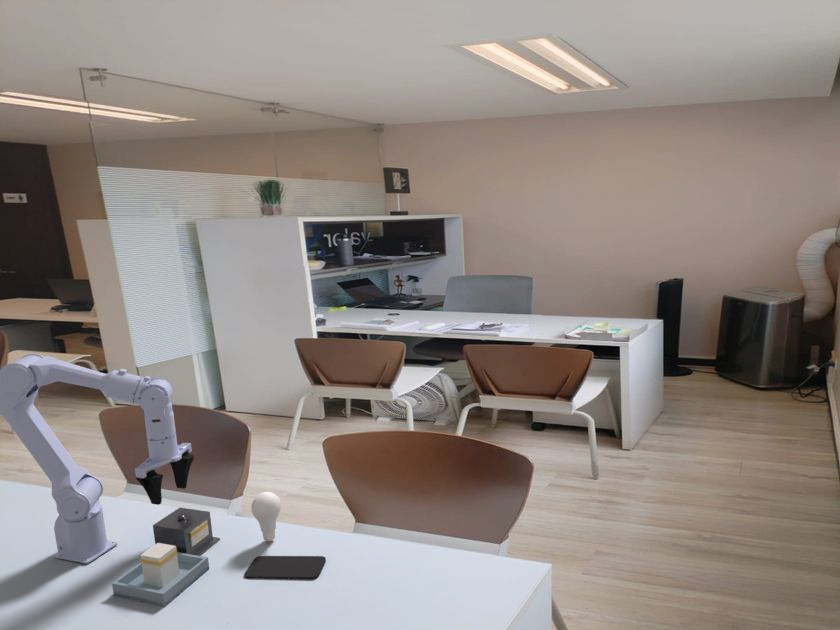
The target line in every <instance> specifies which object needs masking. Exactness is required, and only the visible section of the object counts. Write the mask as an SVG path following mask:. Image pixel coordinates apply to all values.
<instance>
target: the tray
mask: <svg viewBox="0 0 840 630" xmlns="http://www.w3.org/2000/svg"><path fill="white" fill-rule="evenodd" d="M177 558H178V565H179V573H180V574H179V575H178V576H177V577H175V578H174V579H173V580H172V581H170V582H169V583H168V584H167V585H166V586H164V587H158V586H153V585H148V584H144V578H143V571H142V564H141V562H139V563H138V564H136V565H135V566H134V567H133V568H131V569H130V570H128V571H127V572H126V573H124V574H123V575H121V576H120V577H119V578H118V579H116V580H114V581H113V582H111V587H112V592H113V593H112V594H113V596H114V597H119V598H124V599H128V600H133V601H137V602H144V603H148V604H152V605H157V606H162V607H166V606H168V605H169V604H170V603H171V602H172V601H174V600H175V599H177V597H178V596H180V595H181V594H182V593H183V592H184V591H185V590H186V589H188V588H189V587H190V586H191V585H192V584H194V583H195V582H196V581H197V580H198V579H200V578H201V577H202V576H203V575H204V574H205V573H207V572H208V571H209V570H210V563H209V557H206V556H202V555H201V556H197V555H191V554H185V553H180V552H177Z"/></svg>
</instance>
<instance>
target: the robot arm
mask: <svg viewBox="0 0 840 630" xmlns="http://www.w3.org/2000/svg"><path fill="white" fill-rule="evenodd" d="M127 372H128V370H127V369H124V368H120V369H119V370H117V369H116V370H115V369H114V370H112V371H110V372H108V373H103V372H100V371H98V370H94V369H92V368H91V369H90V368H88V367H84V366H82V365H77V364H75V363H71V362H67V361H65V360H61V359H58V358H56V357H53V356H51V355H50V356H49V355H42V354H40V353H28V354H26V355H23V356H22V357H21V358H19V359H17V360H14V361H13V362H11V363H8V364H5V365H4V366H3V367H2V368H1V369H0V413H1V415H2V417H4V419H5V421H6V422H7V423H8V425H9V426H10V427H11V429H12V430H13V431H14V433H15V435H16V436H17V437H18V438H19V440H20V441H21V442H22V444H23V445H24V446H25V448H26V449H27V450H28V452H29V453H30V455H31V456H32V457H33V459H34V460H35V461H36V463H37V464H38V465H39V467H40V468H41V469H42V471H43V472H44V474H45V475H46V477H48V479H49V480H50V482H51V497H52V499H53V500H54V502H55V504H56V511H57V513H58V516H57V518H56V519H55V522H54V526H53V527H54V528H53V529H54V530H53V531H54V537H55V542H56V547H57V550H56V551H57V553H55V554H54V558H55V559H61V560H65V561H71V562H75V563H81V564H84V565H85V564H90V563H91V562H92V561H94V560H96V559H98V558H99V557H100V556H102V555H103V554H105V553H106V552H108V551H109V550H112V549H113V548H114V547H116V546H117V545H118V542H117V541H112V540H108V539H107V533H106V532H107V531H106V525H105V519H104V513H103V512H104V511H103V506H102V503H101V502H100V498H101V496H102V494H103V493H104V485H103V481H102V480H100V478H98V477H97V476H95V475H93V474H91V473H90V472H89V470H88V469H87V468H86V467H84V466H81V465H77V463H76V462H75V461H74V458H72V456H71V455H70V454H69V453H68V451H67V449H66V448H65V447H64V445H63V444H62V442H61V441H60V440H59V438H58V437H57V436H56V433H54V431H53V430H52V428H51V427H50V426H49V424H48V423H47V422H46V420H45V419H44V417H43V416H42V414H40V411H39V410H38V409H37V407H36V406H35V404H34V403H35V400H36V397H37V395H38V393H39V392H38V391H39V389H40V388H41V387H44V386H47V385H50V384H53V383H57V382H60V383H64V384H65V383H66V384H70V385H76V386H80V387H86V388H91V389H96V390H100V392H101V393H102V394H103V396H104V397H106V398H108V399H109V398H110V399H113V400H118V401H122V402H125V403H129V404H134V405H139V407H140V408H141V409H142V410H143V412H144V424H145V432H146V440H147V447H148V455H149V457H147V458H146V459H145V460H144V461H143V462H142V463H141V464H140V465H138V466H136V467H135V468H134V474H135V479H136V481H137V482H139V484H140V485H141V487H143V490H144V491H145V492H146V494H147V496H148V498H149V501H150V503H151V505H157V506H159V505H162V499H163V498H162V497H163V496H162V482H163V477H164V474H163V473H158V472H157V470H158V469H159V468H162V467H163V466H165V465H167V464H170V466H171V468H172V472H173V476H174V477H173V478H174V482H175V486H176V488H177V489H183V490H185V489H186V488H187V485H188V479H189V478H188V477H189V473H190V470H191V466H192V463H193V461H194V460H195V457H194V455H195V454H193V453H192V452H193V449H192V443H191V442H182V443H181V444H178V439H177V430H176V424H175V415H174V414H175V413H174V411H173V410H174V409H173V404H172V400H171V399H172V397H173V395H174V388H173V385H172V383H171V382H170V381H168V380H167V379H165V378H163V377H160V376H158V377H157V376H155V377H154V378H153V377H151V376H148V375H145V377H144V376H140V375H136V374H132V373H127Z"/></svg>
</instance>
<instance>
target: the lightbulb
mask: <svg viewBox="0 0 840 630" xmlns="http://www.w3.org/2000/svg"><path fill="white" fill-rule="evenodd" d="M281 508H282V503H281V499H280V498H279V496H278V495H277V494H276V493H273V492H271V491H263V492H261V493H260V492H259V494H257V495H256V496H255V497H254V498H253V499H252V502H251V512H252V515H253V517H254V518H255V520H257V522H258V524H259V526H260V527H259V528H260V531H261V532H262V539H263V540H264V541H265V542H272V541H273V540H275V538H276V528H277V519H278V517H279V514H280V512H281Z"/></svg>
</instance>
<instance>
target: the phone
mask: <svg viewBox="0 0 840 630" xmlns="http://www.w3.org/2000/svg"><path fill="white" fill-rule="evenodd" d="M326 561H327V558H326V557H325V556H322V555H315V556H314V555H259V556H255V558H253V560H252V561H251V562H250V564H249V565H248V568H247V569H246V570H245V572H244V574H243V576H244V578H245V579H250V580H251V579H252V580H253V579H255V580H258V579H259V580H299V581H300V580H303V581H305V580H309V581H313V580H316V579H318V578H319V577H320V576H321V574H322V573H321V572H322V570H323V569H324V566H325V564H326Z"/></svg>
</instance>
